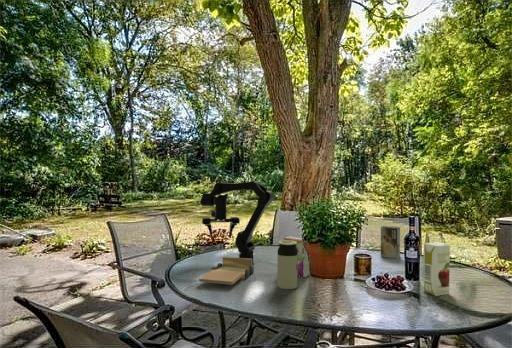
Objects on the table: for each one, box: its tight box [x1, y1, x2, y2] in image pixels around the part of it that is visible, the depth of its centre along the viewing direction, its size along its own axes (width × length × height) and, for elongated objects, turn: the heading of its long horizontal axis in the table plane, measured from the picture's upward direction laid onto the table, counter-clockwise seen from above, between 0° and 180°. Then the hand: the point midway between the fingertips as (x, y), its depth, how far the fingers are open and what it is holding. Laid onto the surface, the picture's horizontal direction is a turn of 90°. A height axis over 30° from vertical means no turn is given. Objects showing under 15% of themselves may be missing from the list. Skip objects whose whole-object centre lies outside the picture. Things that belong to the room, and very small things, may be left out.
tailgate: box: [198, 269, 243, 285], centre depth 156 cm, size 1×14×14 cm
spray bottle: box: [283, 235, 310, 278], centre depth 169 cm, size 11×5×16 cm, turn 47°
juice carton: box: [422, 241, 451, 297], centre depth 146 cm, size 8×9×19 cm
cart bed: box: [211, 256, 255, 280], centre depth 169 cm, size 13×16×6 cm
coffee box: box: [380, 225, 401, 259], centre depth 207 cm, size 9×6×16 cm
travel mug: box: [276, 239, 298, 291], centre depth 152 cm, size 8×8×18 cm
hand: (220, 237), depth 194 cm, fingers open, 9 cm apart
